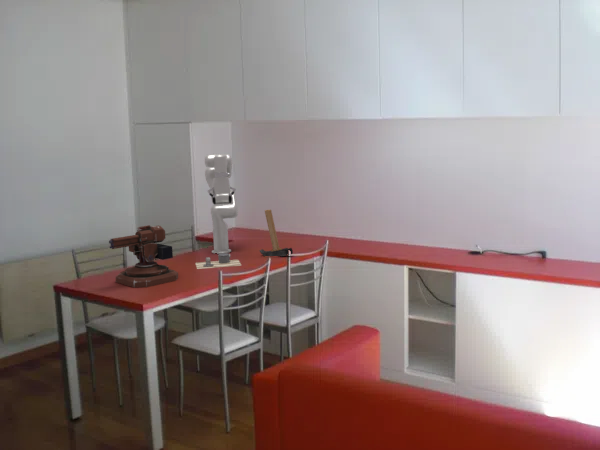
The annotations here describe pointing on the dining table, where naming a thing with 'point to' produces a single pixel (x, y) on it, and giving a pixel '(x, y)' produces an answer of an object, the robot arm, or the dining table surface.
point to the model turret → (146, 258)
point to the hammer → (273, 239)
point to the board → (216, 264)
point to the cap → (224, 258)
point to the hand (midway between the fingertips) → (222, 203)
